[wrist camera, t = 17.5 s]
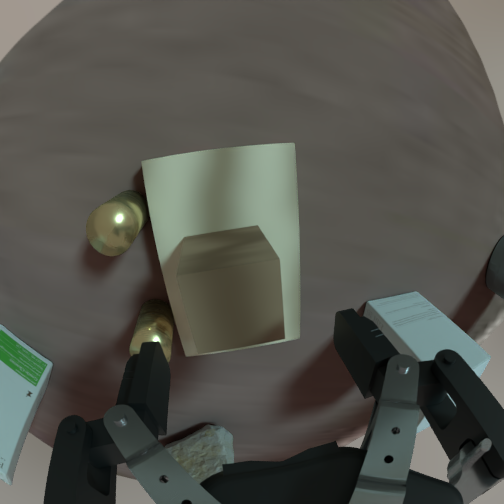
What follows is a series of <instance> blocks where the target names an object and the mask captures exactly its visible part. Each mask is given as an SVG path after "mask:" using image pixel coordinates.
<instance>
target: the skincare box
mask: <svg viewBox="0 0 504 504" xmlns="http://www.w3.org/2000/svg"><path fill="white" fill-rule="evenodd" d="M52 367H53V364H52V362H51V361H49V360H48V359H46V358H44V357H43V356H41V355H40V354H39V353H37V352H36V351H35V350H33V349H32V348H31V347H29V346H28V345H26V344H25V343H24V342H22V341H21V340H20V339H19V338H17V337H16V336H15V335H14V334H12V333H11V332H10V331H9V330H7V329H6V328H5V327H4V326H3V325H0V479H1V480H3V481H4V482H6V483H7V484H9V485H12V481H13V476H14V472H15V468H16V465H17V462H18V459H19V456H20V453H21V450H22V447H23V444H24V441H25V439H26V436H27V433H28V431H29V428H30V426H31V423H32V421H33V418H34V416H35V413H36V411H37V409H38V407H39V404H40V402H41V400H42V398H43V396H44V393H45V391H46V389H47V386H48V382H49V378H50V374H51V371H52Z"/></svg>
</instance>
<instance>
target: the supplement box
mask: <svg viewBox="0 0 504 504" xmlns="http://www.w3.org/2000/svg"><path fill="white" fill-rule="evenodd" d="M363 316H365V317H366V318H368V319H370V320H372V321H373V322H374V323H375V324H376V325H377V327H378V328H379V329H380V330H381V331H382V333H383V335H385V336H386V337H387V339H388V340H389V341H390V342H391V343H392V345H393V346H394V347H395V348H396V349H397V351H398V352H399V353H400V354H405V355H409V356H412V357H413V358H415V359H416V360H417V362H420V361H428V360H434V358H435V356H436V354H437V353H438V352H439V351H441V350H444V349H450V350H453V351H455V352H457V353H458V354H459V355H460V356H461V357H462V358H463V359H464V360H465V361H466V363H467V364H468V365H469V366H470V367H471V369H472V370H473V371H474V372H475V373H476V375H477V376H478V377H479V378H480V376H481V374H482V373H483V371H484V369H485V367H486V365H487V363H488V362H489V360H490V358H491V356H490V355H489V354H487V353H486V352H485V351H484V350H483V349H482V348H481V347H480V346H479V345H478V344H477V343H476V342H475V341H474V340H473V339H471V338H470V337H469V336H468V335H467V334H466V333H465V332H464V331H463V330H461V329H460V328H459V327H458V326H457V325H456V324H455V323H454V322H452V321H451V320H450V319H449V318H448V317H446V316H445V315H444V314H443V313H442V312H441V311H439V310H438V309H437V308H436V307H435V306H433V305H432V304H431V303H430V302H429V301H428V300H426V299H425V298H424V297H423V296H421V295H420V294H419V293H418V292H411V293H407V294H402V295H398V296H393V297H388V298H383V299H378V300H372V301H367V303H366V307H365V311H364V315H363ZM447 395H448V396H449V394H448V393H447ZM449 397H450V396H449ZM450 399H451V397H450ZM451 400H452V399H451ZM452 402H453V400H452ZM453 403H454V402H453ZM454 405H455V403H454ZM455 406H456V405H455ZM429 426H430V424H429V423H428V421H427V419H426V418H425V416H424V414H423V413H422V411H421V409H420V410H419V418H418V425H417V432H416V433H418V432H420V431H422V430H424V429H426V428H427V427H429Z"/></svg>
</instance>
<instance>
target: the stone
mask: <svg viewBox="0 0 504 504" xmlns="http://www.w3.org/2000/svg"><path fill="white" fill-rule="evenodd" d="M232 442H233V436H232V434H230V433H229V432H228V431H227V430H225V429H224V428H223V427H221V426H212V425H209V424H208V425H206V426H204V427H203V428H202V429H200V430H198V431H196V432H194V433H193V434H190V435H188V436H187V437H185V438H183V439H181V440H179V441H175V442H172V443H170V444H167V445H165V447H164V448H165V449H166V450H167V451H168V452H169V453H170V454H171V456H172V457H173V458H174V459H175V460H176V461H177V462H178V463H179V464H180V465H181V466H182V467H183V468H184V469H185V471H186V472H187V473H188V474H189V475H190V476H191V477H192V478H193V479H194V480H195V481H196V482H198V483H199V484H200V483H201V482H202V481H204V480H205V479H206V478H208V477H210V476H211V475H213V474H216V473H218V472H221V471H223V467H222V464H230V463H234V450H233V445H232Z"/></svg>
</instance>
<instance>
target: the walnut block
mask: <svg viewBox="0 0 504 504" xmlns="http://www.w3.org/2000/svg"><path fill="white" fill-rule="evenodd" d="M176 278H177V282H178V286H179V290H180V293H181V297H182V301H183V305H184V308H185V312H186V315H187V319H188V323H189V326H190V329H191V333H192V336H193V340H194V343H195V346H196V349H197V353H198V354H203V353H210V352H217V351H223V350H229V349H235V348H241V347H247V346H252V345H258V344H263V343H268V342H273V341H278V340H282V339H285V327H284V311H283V296H282V281H281V267H280V258H279V257H278V255H277V254H276V252H275V251H274V249H273V248H272V246H271V245H270V243H269V242H268V240H267V238H266V237H265V235H264V234H263V232H262V231H261V229H260V228H259V226H258V225H255V226H249V227H242V228H236V229H229V230H223V231H217V232H211V233H205V234H199V235H193V236H187V237H184V241H183V246H182V250H181V255H180V259H179V264H178V269H177V274H176Z"/></svg>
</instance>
